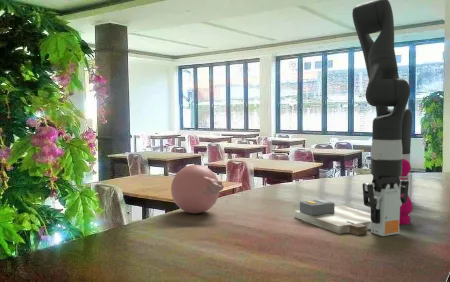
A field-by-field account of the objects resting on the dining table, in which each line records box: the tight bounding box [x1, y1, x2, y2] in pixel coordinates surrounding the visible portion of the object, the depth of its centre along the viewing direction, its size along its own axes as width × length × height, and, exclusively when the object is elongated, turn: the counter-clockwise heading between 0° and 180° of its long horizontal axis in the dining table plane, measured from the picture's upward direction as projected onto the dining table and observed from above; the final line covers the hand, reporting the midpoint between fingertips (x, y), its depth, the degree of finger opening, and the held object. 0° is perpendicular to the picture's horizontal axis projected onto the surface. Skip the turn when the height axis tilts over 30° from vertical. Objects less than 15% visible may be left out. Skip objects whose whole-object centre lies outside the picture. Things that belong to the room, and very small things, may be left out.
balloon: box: [170, 164, 224, 214], centre depth 132 cm, size 15×20×15 cm
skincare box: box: [370, 188, 400, 237], centre depth 108 cm, size 6×4×12 cm
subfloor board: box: [294, 205, 371, 236], centre depth 120 cm, size 18×23×2 cm
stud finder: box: [299, 198, 336, 216], centre depth 124 cm, size 8×6×3 cm
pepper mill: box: [399, 154, 413, 226], centre depth 120 cm, size 7×7×20 cm
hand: (385, 221), depth 109 cm, fingers open, 6 cm apart
